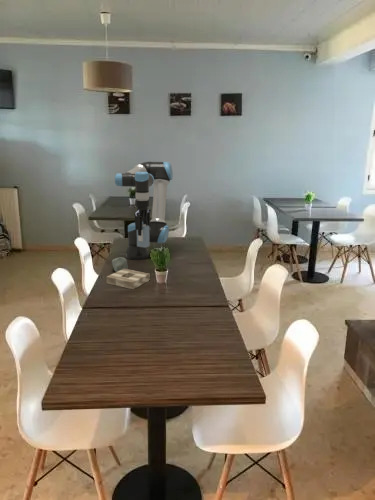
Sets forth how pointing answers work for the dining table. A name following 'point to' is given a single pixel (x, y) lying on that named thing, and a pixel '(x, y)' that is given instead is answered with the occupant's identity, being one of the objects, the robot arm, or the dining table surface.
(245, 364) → the dining table surface
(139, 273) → the hub block
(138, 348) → the dining table surface
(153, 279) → the dining table surface
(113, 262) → the decorative stone
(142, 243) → the keyed peg
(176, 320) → the dining table surface
